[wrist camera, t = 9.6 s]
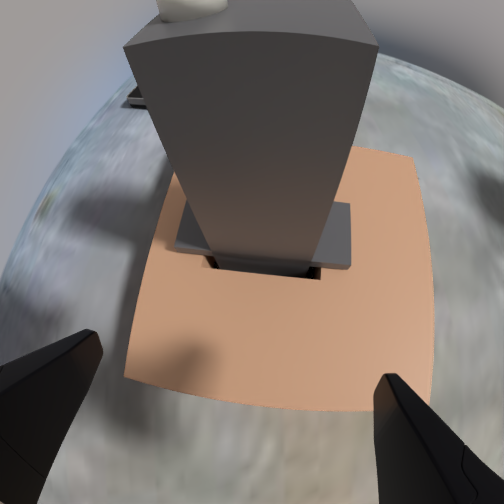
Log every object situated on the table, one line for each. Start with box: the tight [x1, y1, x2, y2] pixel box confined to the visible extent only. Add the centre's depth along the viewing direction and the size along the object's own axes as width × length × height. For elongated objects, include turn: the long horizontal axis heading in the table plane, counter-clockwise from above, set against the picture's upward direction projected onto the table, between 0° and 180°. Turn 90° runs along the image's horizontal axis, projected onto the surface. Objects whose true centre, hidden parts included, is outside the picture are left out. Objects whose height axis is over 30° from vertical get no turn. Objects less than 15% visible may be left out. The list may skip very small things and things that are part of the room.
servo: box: [123, 0, 379, 279], centre depth 12 cm, size 10×4×17 cm, turn 82°
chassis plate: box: [124, 146, 434, 411], centre depth 18 cm, size 18×18×3 cm
